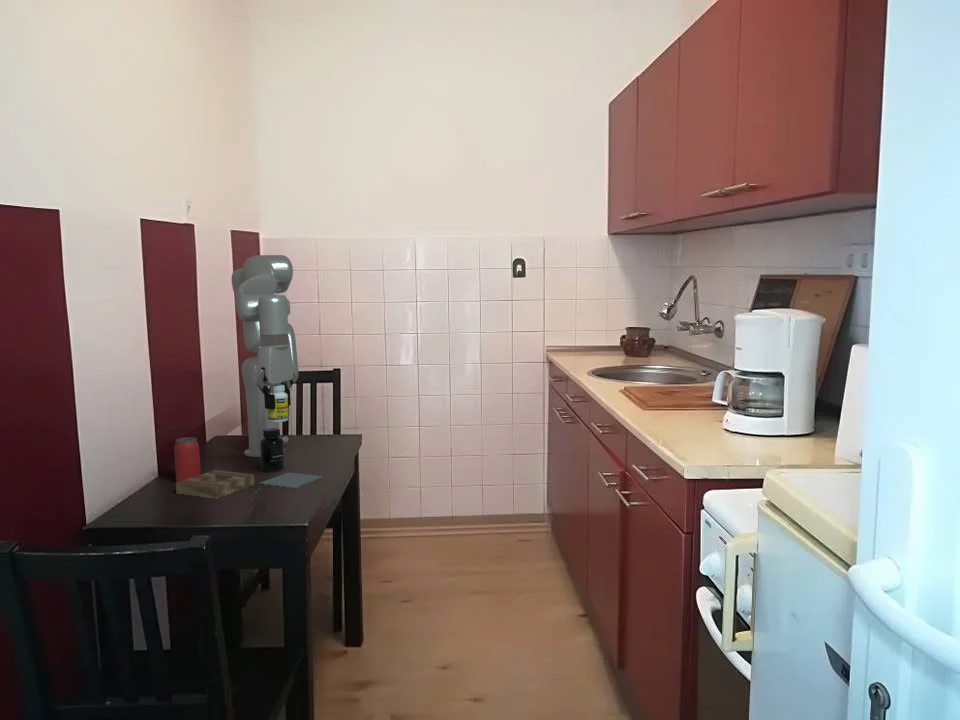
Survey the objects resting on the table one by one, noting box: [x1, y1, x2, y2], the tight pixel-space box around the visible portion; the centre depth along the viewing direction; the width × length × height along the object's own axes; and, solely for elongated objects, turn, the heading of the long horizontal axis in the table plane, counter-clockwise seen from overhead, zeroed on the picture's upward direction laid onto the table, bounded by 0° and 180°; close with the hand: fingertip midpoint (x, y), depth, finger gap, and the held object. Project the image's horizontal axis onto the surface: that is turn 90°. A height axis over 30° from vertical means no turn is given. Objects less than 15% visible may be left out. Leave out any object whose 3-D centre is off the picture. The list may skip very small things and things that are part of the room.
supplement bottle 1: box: [268, 385, 289, 423], centre depth 208 cm, size 5×5×10 cm
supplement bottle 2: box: [260, 428, 286, 473], centre depth 225 cm, size 7×7×12 cm
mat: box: [259, 472, 323, 489], centre depth 211 cm, size 12×12×1 cm
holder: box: [175, 469, 255, 500], centre depth 204 cm, size 14×14×3 cm
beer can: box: [173, 436, 202, 482], centre depth 214 cm, size 7×7×12 cm
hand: (277, 406), depth 208 cm, fingers closed on supplement bottle 1, 5 cm apart
